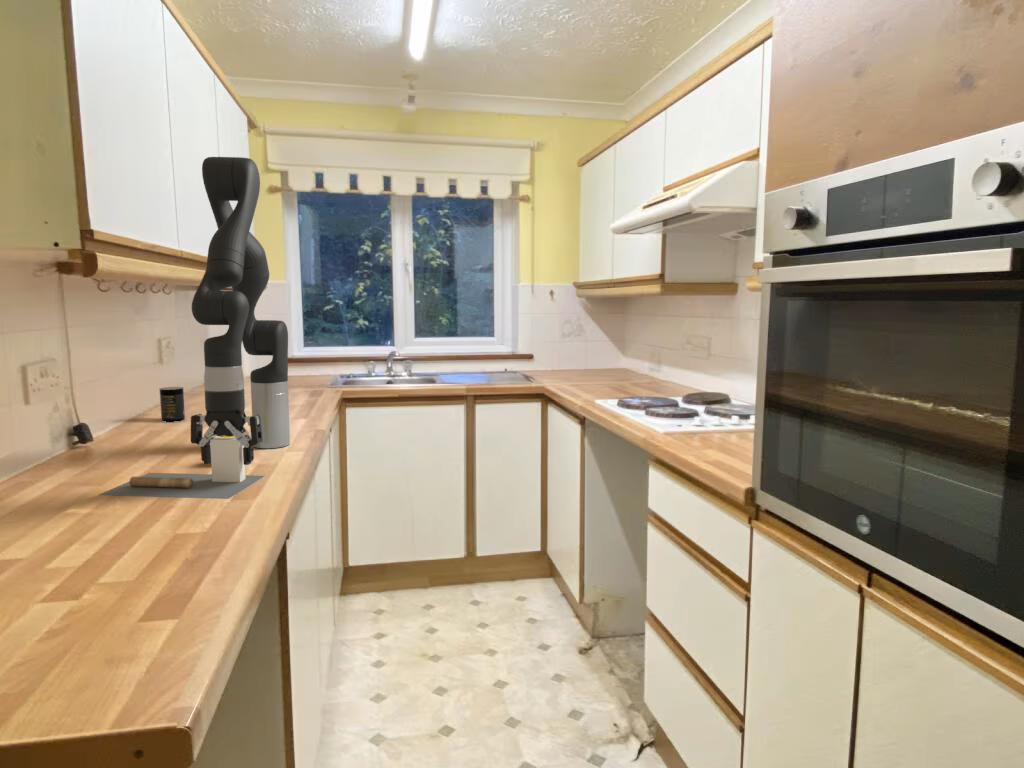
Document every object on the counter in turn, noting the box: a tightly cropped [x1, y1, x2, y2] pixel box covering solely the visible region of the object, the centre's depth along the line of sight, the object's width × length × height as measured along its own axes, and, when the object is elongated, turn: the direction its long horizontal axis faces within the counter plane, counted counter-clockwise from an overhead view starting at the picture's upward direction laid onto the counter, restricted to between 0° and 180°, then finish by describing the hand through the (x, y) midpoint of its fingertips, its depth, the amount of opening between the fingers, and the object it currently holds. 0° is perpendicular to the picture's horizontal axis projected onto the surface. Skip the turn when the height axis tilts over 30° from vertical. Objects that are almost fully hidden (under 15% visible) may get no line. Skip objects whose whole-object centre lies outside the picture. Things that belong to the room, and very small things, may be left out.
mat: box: [98, 472, 265, 500], centre depth 130 cm, size 16×26×1 cm, turn 87°
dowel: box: [129, 476, 193, 488], centre depth 128 cm, size 2×12×2 cm, turn 87°
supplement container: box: [159, 386, 186, 423], centre depth 199 cm, size 7×7×10 cm
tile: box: [210, 436, 247, 482], centre depth 133 cm, size 2×6×9 cm, turn 87°
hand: (227, 463), depth 133 cm, fingers open, 8 cm apart
